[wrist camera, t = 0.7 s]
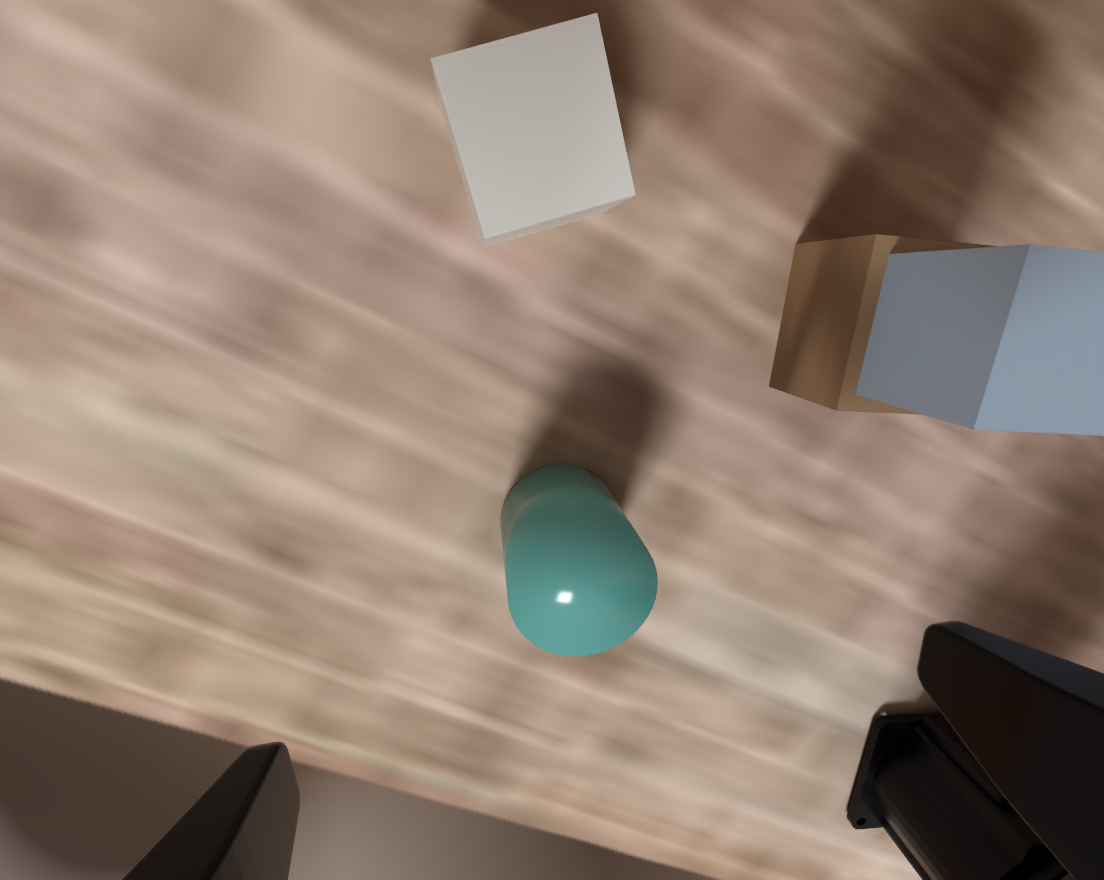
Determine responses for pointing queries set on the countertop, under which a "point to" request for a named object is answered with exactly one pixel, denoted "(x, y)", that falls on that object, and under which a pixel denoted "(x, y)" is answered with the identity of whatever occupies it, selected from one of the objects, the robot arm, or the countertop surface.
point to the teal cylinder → (573, 563)
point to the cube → (535, 129)
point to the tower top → (992, 338)
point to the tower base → (837, 317)
